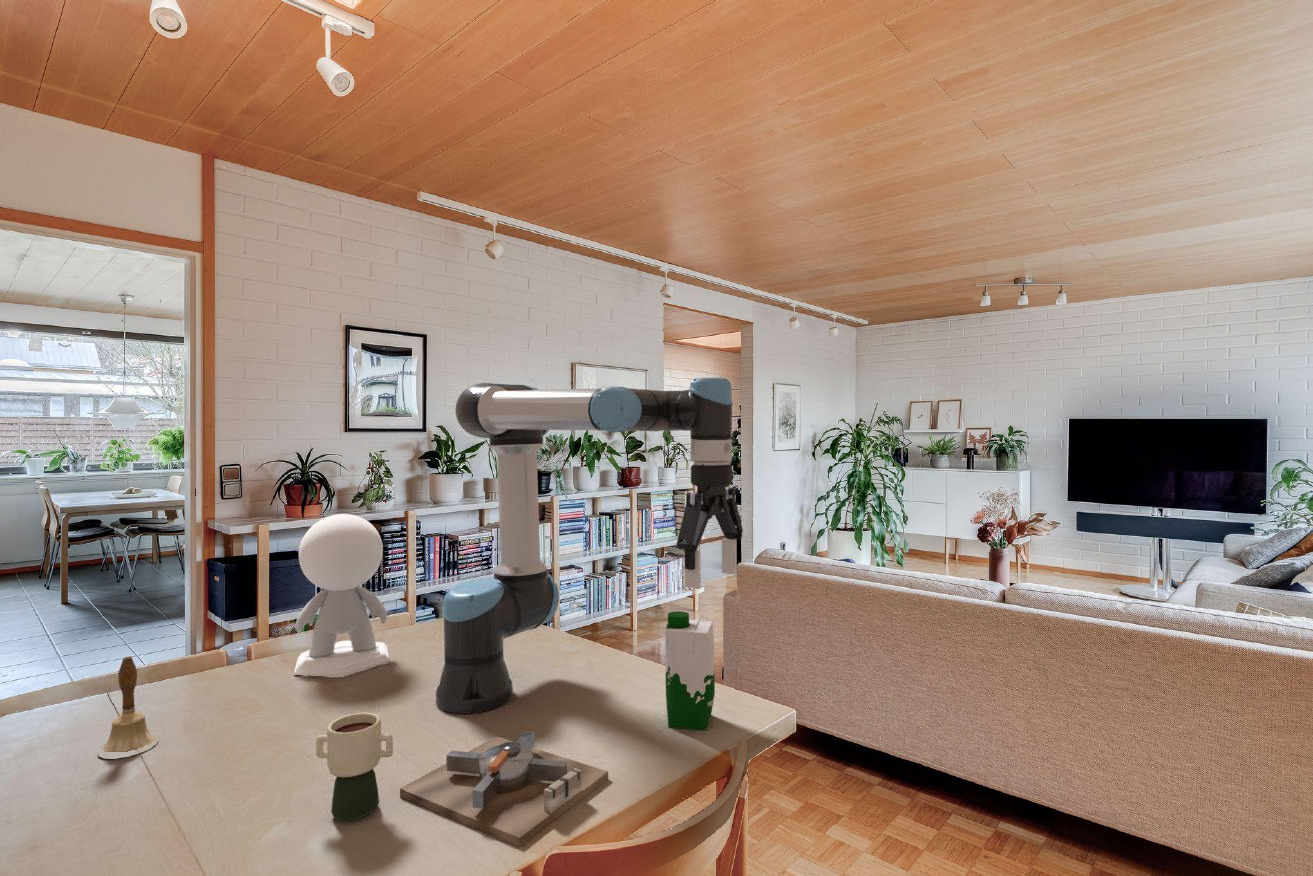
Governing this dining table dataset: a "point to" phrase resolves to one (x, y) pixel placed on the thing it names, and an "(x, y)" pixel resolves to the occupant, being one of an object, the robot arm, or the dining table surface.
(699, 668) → the milk carton
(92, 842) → the dining table surface
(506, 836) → the wooden mounting board
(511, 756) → the four-spoke handwheel
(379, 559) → the big headed doll
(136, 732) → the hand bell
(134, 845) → the dining table surface
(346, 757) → the character mug
